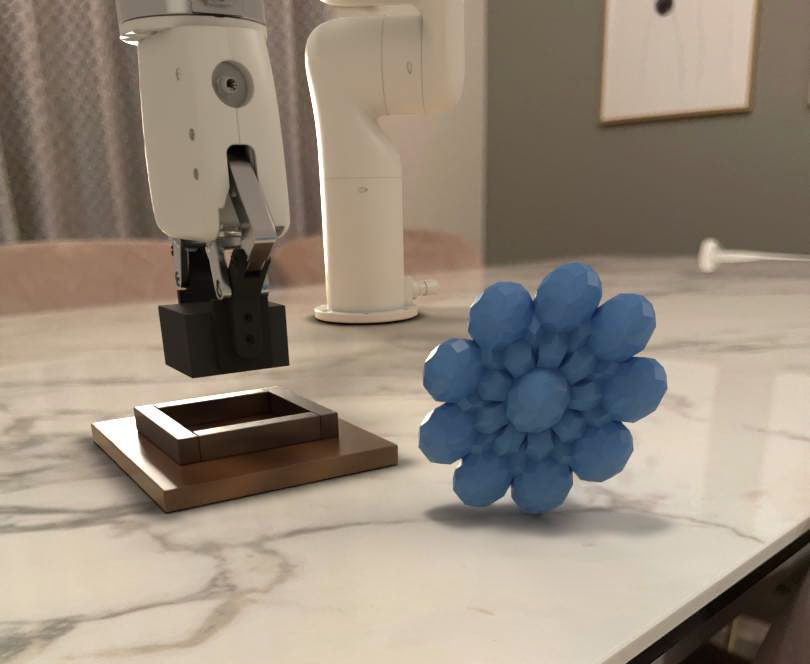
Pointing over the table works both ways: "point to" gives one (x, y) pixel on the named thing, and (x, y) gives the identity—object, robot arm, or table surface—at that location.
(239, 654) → the table surface
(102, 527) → the table surface
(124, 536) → the table surface
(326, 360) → the table surface
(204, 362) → the dark grey block
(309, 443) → the wooden socket base
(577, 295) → the blue flower ornament
